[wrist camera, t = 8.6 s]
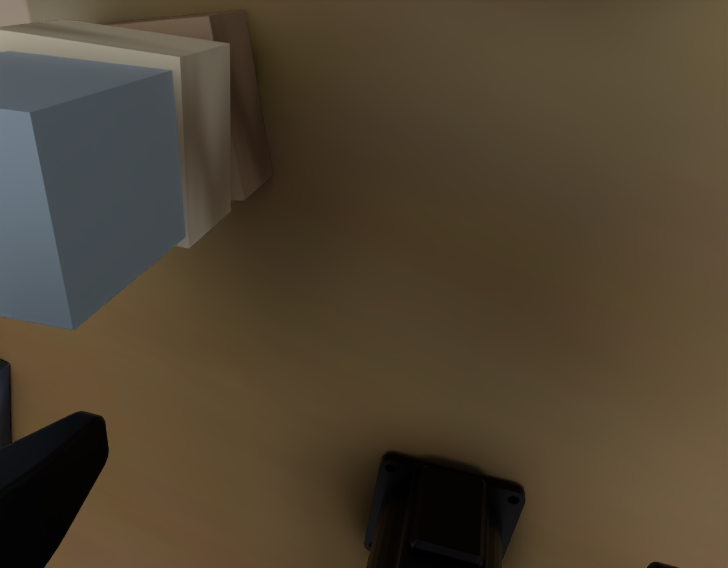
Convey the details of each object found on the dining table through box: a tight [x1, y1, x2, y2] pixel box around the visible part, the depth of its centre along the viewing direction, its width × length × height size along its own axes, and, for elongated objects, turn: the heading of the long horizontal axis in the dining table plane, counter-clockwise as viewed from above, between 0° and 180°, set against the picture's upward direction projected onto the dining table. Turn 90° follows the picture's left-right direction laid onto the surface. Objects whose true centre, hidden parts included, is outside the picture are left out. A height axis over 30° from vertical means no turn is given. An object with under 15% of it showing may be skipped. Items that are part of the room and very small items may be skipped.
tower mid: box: [0, 19, 231, 249], centre depth 17 cm, size 5×5×3 cm
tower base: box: [100, 10, 273, 201], centre depth 20 cm, size 6×6×3 cm
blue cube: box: [0, 51, 186, 331], centre depth 14 cm, size 4×4×5 cm
